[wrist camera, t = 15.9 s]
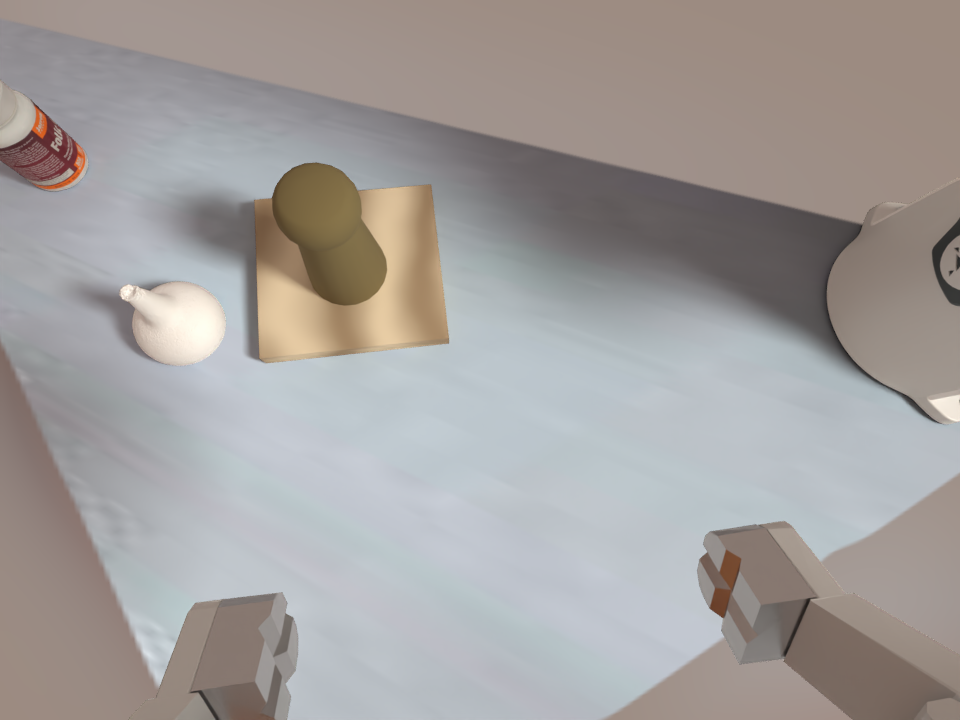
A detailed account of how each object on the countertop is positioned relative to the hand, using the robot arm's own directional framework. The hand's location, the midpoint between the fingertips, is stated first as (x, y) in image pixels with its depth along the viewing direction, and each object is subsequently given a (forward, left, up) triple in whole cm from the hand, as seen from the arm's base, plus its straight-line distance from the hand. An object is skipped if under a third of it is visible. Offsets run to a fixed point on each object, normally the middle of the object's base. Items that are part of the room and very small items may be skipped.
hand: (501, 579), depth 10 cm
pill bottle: (+30, -31, -30) cm, 53 cm away
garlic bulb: (+20, -16, -30) cm, 39 cm away
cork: (+7, -19, -28) cm, 35 cm away
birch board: (+7, -19, -29) cm, 36 cm away
